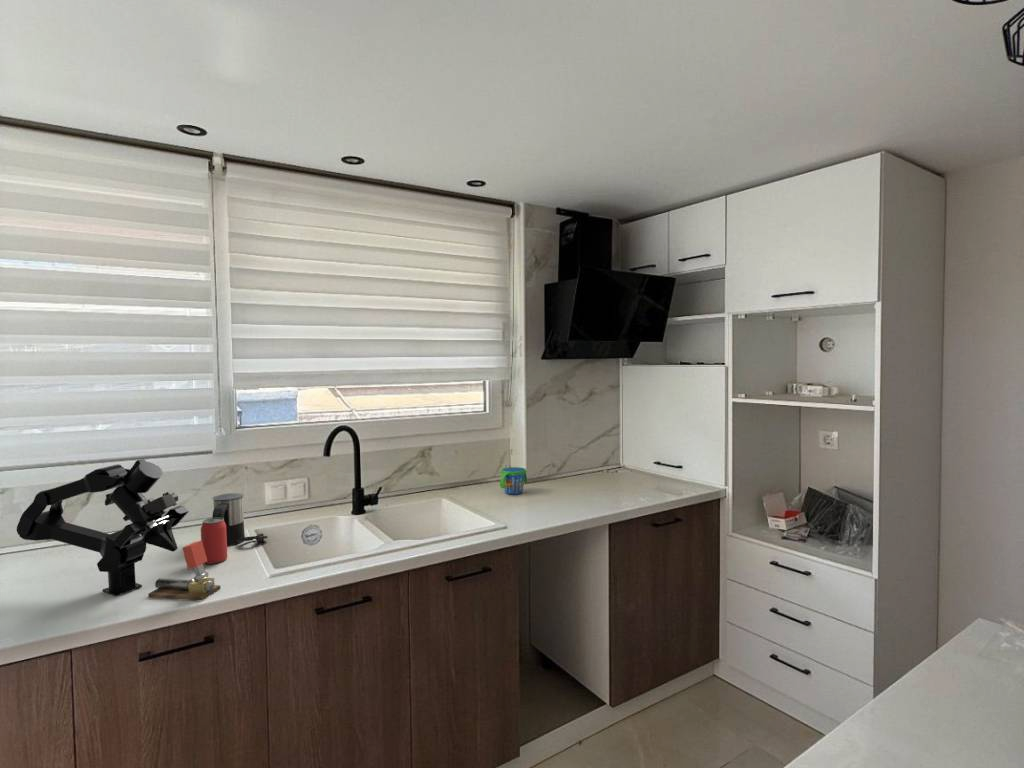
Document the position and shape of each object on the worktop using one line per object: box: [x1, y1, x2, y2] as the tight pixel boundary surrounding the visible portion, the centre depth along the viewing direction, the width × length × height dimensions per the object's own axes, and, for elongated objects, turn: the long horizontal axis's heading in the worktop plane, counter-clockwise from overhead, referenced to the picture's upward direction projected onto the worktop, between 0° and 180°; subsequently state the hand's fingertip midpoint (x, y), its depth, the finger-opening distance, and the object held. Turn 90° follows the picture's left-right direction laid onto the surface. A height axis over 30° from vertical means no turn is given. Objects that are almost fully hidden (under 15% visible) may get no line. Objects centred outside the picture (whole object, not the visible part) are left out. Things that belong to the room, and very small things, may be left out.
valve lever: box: [181, 539, 209, 582], centre depth 143 cm, size 2×4×9 cm, turn 171°
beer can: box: [200, 517, 228, 565], centre depth 166 cm, size 7×7×12 cm
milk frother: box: [211, 492, 268, 546], centre depth 182 cm, size 14×16×15 cm
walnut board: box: [147, 584, 221, 601], centre depth 144 cm, size 14×7×1 cm, turn 81°
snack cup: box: [499, 466, 528, 496], centre depth 243 cm, size 16×10×10 cm
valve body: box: [154, 577, 215, 594], centre depth 144 cm, size 14×4×3 cm, turn 81°
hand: (175, 550), depth 144 cm, fingers closed
